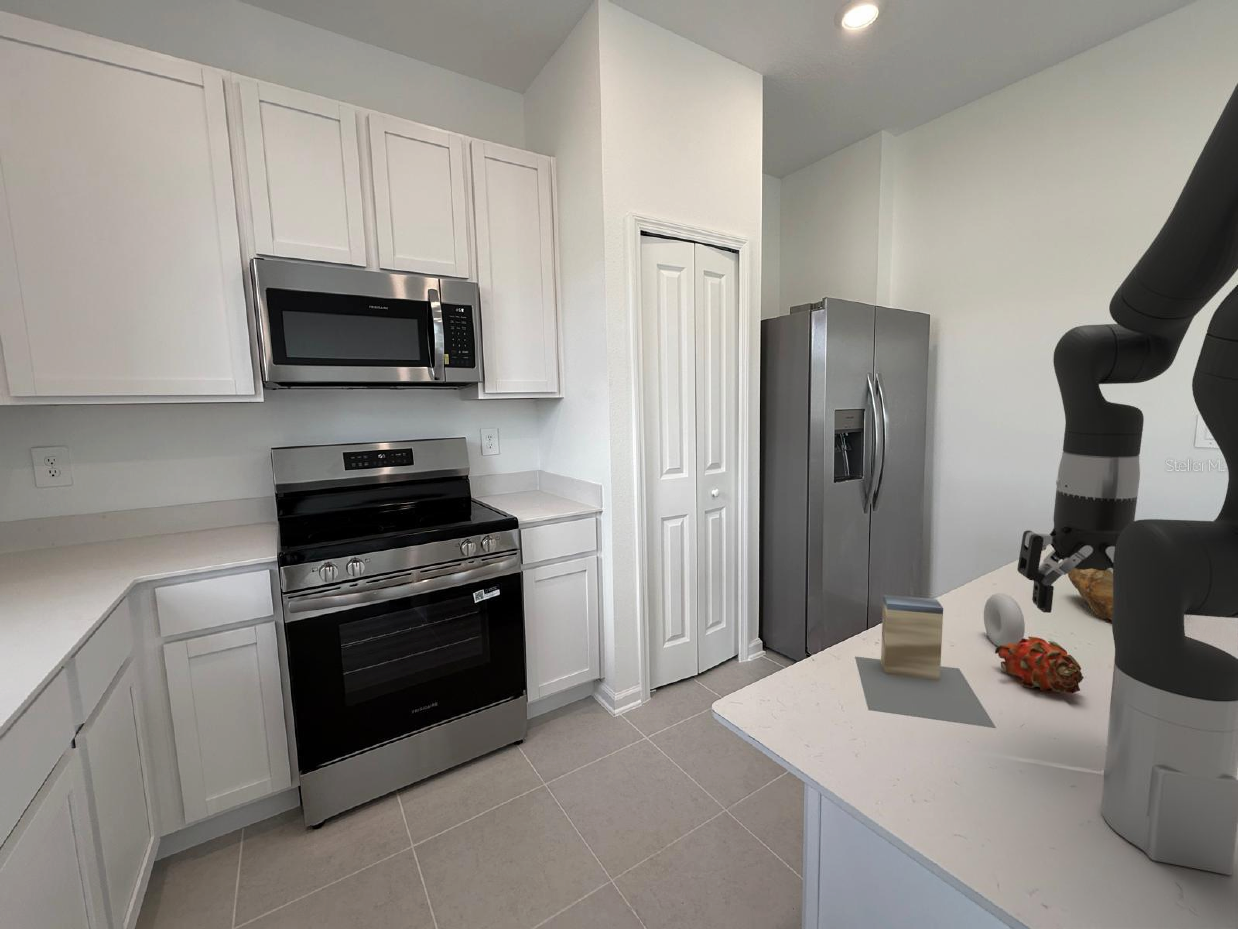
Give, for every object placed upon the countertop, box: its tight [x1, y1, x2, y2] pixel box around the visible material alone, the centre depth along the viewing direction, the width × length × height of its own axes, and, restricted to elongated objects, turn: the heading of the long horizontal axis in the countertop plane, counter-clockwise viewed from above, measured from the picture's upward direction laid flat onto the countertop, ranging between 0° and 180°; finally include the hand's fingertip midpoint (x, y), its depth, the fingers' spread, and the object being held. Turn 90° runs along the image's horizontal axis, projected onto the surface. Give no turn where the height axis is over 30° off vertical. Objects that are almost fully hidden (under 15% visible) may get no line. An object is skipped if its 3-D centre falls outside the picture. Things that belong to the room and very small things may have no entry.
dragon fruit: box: [992, 636, 1085, 694], centre depth 84 cm, size 8×8×12 cm
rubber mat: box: [854, 656, 997, 729], centre depth 83 cm, size 17×16×1 cm
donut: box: [983, 592, 1026, 648], centre depth 97 cm, size 10×4×10 cm, turn 168°
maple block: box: [880, 594, 944, 680], centre depth 88 cm, size 4×8×12 cm, turn 72°
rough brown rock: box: [1067, 568, 1113, 621], centre depth 112 cm, size 23×17×15 cm
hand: (1081, 612), depth 68 cm, fingers open, 8 cm apart
